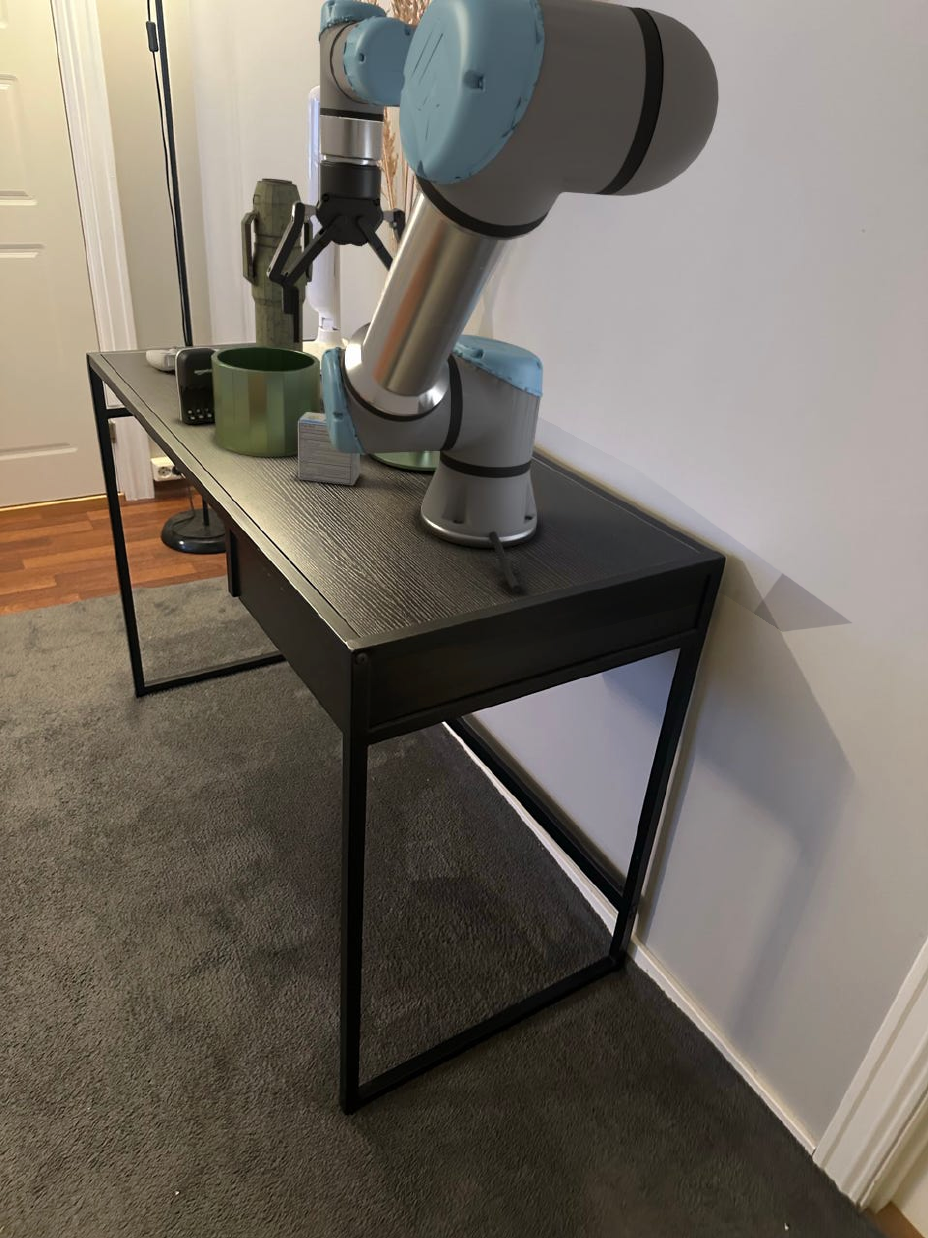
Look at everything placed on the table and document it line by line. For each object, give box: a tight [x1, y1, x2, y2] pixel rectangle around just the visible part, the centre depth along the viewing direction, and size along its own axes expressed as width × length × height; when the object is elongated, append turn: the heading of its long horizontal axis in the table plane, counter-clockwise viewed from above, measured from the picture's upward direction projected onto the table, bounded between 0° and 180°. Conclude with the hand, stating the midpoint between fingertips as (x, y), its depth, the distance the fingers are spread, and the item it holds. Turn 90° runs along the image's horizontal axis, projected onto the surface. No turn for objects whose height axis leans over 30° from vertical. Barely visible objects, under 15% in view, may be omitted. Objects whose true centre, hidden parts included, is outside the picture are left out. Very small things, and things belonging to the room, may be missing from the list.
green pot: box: [211, 345, 321, 458], centre depth 127 cm, size 16×16×12 cm
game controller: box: [145, 345, 221, 372], centre depth 159 cm, size 14×4×10 cm
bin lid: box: [369, 451, 440, 472], centre depth 128 cm, size 17×17×9 cm
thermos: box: [240, 178, 314, 352], centre depth 139 cm, size 9×12×35 cm
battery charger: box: [174, 346, 216, 425], centre depth 131 cm, size 7×4×11 cm, turn 131°
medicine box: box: [297, 412, 361, 487], centre depth 116 cm, size 8×4×9 cm, turn 84°
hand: (346, 341), depth 111 cm, fingers open, 13 cm apart
